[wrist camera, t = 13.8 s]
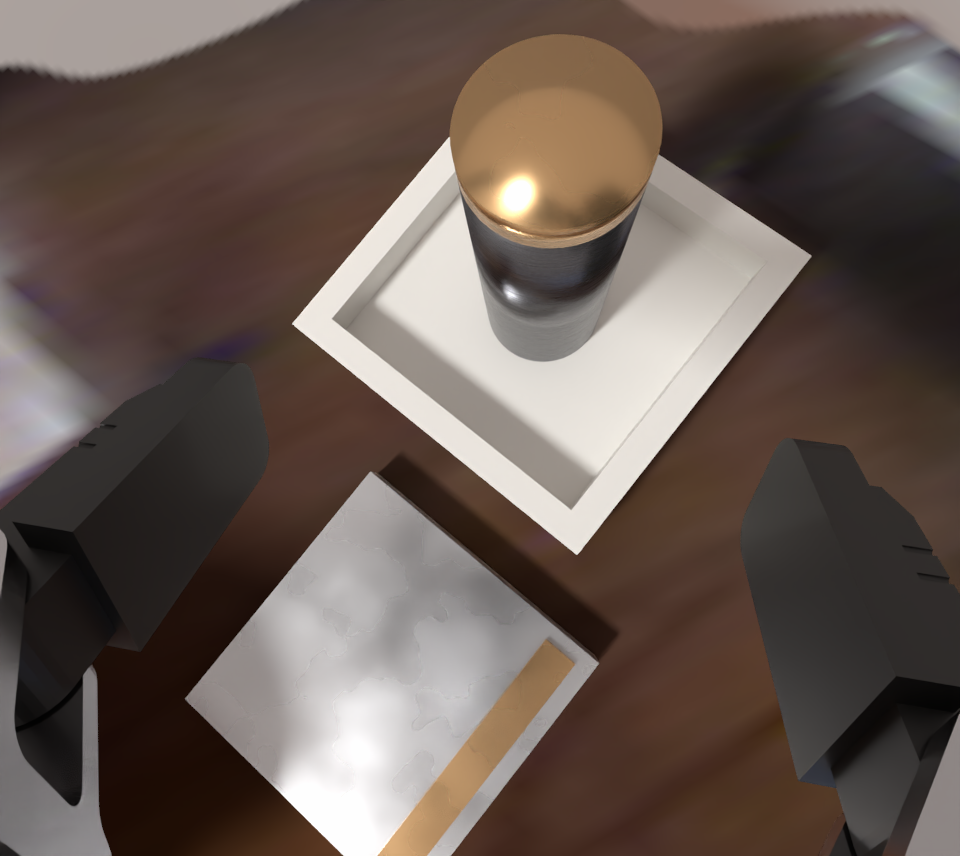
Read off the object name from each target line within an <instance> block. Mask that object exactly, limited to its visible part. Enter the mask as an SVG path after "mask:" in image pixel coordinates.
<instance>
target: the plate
mask: <svg viewBox="0 0 960 856" xmlns="http://www.w3.org/2000/svg"><path fill="white" fill-rule="evenodd" d="M598 664H599V662H598V660H597V658H596V656H595V655H594V654H593V653H592V652H591V651H589V650H588V649H587V648H586V647H585V646H584V645H582V644H581V643H580V642H579V641H578V640H576V639H575V638H574V637H573V636H572V635H570V634H569V633H568V632H567V631H566V630H564V629H563V628H562V627H561V626H560V625H558V624H557V623H556V622H555V621H554V620H553V619H551V618H550V617H549V616H548V615H547V614H545V613H544V612H543V611H542V610H541V609H539V608H538V607H537V606H536V605H535V604H533V603H532V602H531V601H530V600H529V599H527V598H526V597H525V596H524V595H523V594H522V593H520V592H519V591H518V590H517V589H516V588H514V587H513V586H512V585H511V584H510V583H508V582H507V581H506V580H505V579H504V578H502V577H501V576H500V575H499V574H498V573H496V572H495V571H494V570H493V569H492V568H491V567H489V566H488V565H487V564H486V563H485V562H483V561H482V560H481V559H480V558H479V557H477V556H476V555H475V554H474V553H473V552H471V551H470V550H469V549H468V548H467V547H465V546H464V545H463V544H462V543H461V542H460V541H458V540H457V539H456V538H455V537H454V536H452V535H451V534H450V533H449V532H448V531H446V530H445V529H444V528H443V527H442V526H440V525H439V524H438V523H437V522H436V521H435V520H433V519H432V518H431V517H430V516H429V515H427V514H426V513H425V512H424V511H423V510H421V509H420V508H419V507H418V506H417V505H415V504H414V503H413V502H412V501H411V500H409V499H408V498H407V497H406V496H405V495H404V494H402V493H401V492H400V491H399V490H398V489H396V488H395V487H394V486H393V485H392V484H390V483H389V482H388V481H387V480H386V479H384V478H383V477H382V476H381V475H380V474H378V473H375V472H370V473H369V474H368V475H367V477H366V478H365V479H364V480H363V481H362V483H361V484H360V485H359V486H358V488H357V489H356V490H355V491H354V492H353V494H352V495H351V496H350V497H349V499H348V500H347V501H346V502H345V503H344V505H343V506H342V507H341V508H340V510H339V511H338V512H337V513H336V514H335V516H334V517H333V518H332V519H331V521H330V522H329V523H328V524H327V525H326V527H325V528H324V529H323V530H322V532H321V533H320V534H319V535H318V536H317V538H316V539H315V540H314V541H313V543H312V544H311V545H310V546H309V548H308V549H307V550H306V551H305V552H304V554H303V555H302V556H301V557H300V559H299V560H298V561H297V562H296V563H295V565H294V566H293V567H292V568H291V570H290V571H289V572H288V573H287V574H286V576H285V577H284V578H283V579H282V581H281V582H280V583H279V584H278V585H277V587H276V588H275V589H274V590H273V592H272V593H271V594H270V595H269V596H268V598H267V599H266V600H265V601H264V603H263V604H262V605H261V606H260V607H259V609H258V610H257V611H256V612H255V614H254V615H253V616H252V617H251V619H250V620H249V621H248V622H247V623H246V625H245V626H244V627H243V628H242V630H241V631H240V632H239V633H238V634H237V636H236V637H235V638H234V639H233V641H232V642H231V643H230V644H229V645H228V647H227V648H226V649H225V650H224V652H223V653H222V654H221V655H220V656H219V658H218V659H217V660H216V661H215V663H214V664H213V665H212V666H211V667H210V669H209V670H208V671H207V672H206V674H205V675H204V676H203V677H202V678H201V680H200V681H199V682H198V683H197V685H196V686H195V687H194V688H193V690H192V691H191V692H190V693H189V694H188V696H187V697H186V698H185V700H186V701H187V702H188V703H189V704H190V705H191V706H192V707H193V708H194V709H195V710H196V711H197V712H198V713H199V714H200V715H202V716H203V717H204V718H205V719H206V720H207V721H208V722H209V723H210V724H211V725H212V726H213V727H214V728H215V729H216V730H217V731H218V732H219V733H220V734H221V735H222V736H223V737H224V738H225V739H226V740H227V741H228V742H229V743H230V744H231V745H232V746H233V747H234V748H235V749H236V750H237V751H238V752H239V753H240V754H241V755H242V756H243V757H244V758H245V759H246V760H247V761H248V762H249V763H250V764H251V765H252V766H253V767H254V768H255V769H256V770H257V771H258V772H259V773H260V774H261V775H262V776H263V777H264V778H265V779H266V780H268V781H269V782H270V783H271V784H272V785H273V786H274V787H275V788H276V789H277V790H278V791H279V792H280V793H281V794H282V795H283V796H284V797H285V798H286V799H287V800H288V801H289V802H290V803H291V804H292V805H293V806H294V807H295V808H296V809H297V810H298V811H299V812H300V813H301V814H302V815H303V816H304V817H305V818H306V819H307V820H308V821H309V822H310V823H311V824H312V825H313V826H314V827H315V828H316V829H317V830H318V831H319V832H320V833H321V834H322V835H323V836H324V837H325V838H326V839H327V840H328V841H329V842H330V843H331V844H333V845H334V846H335V847H336V848H337V849H338V850H339V851H340V852H341V853H342V854H343V855H344V856H451V855H452V853H453V852H454V851H455V850H456V848H457V847H458V846H459V844H460V843H461V842H462V840H463V839H464V838H465V837H466V835H467V834H468V833H469V831H470V830H471V829H472V827H473V826H474V825H475V824H476V822H477V821H478V820H479V818H480V817H481V816H482V815H483V813H484V812H485V811H486V809H487V808H488V807H489V805H490V804H491V803H492V802H493V800H494V799H495V798H496V796H497V795H498V794H499V793H500V791H501V790H502V789H503V787H504V786H505V785H506V783H507V782H508V781H509V780H510V778H511V777H512V776H513V774H514V773H515V772H516V770H517V769H518V768H519V767H520V765H521V764H522V763H523V761H524V760H525V759H526V758H527V756H528V755H529V754H530V752H531V751H532V750H533V748H534V747H535V746H536V745H537V743H538V742H539V741H540V739H541V738H542V737H543V736H544V734H545V733H546V732H547V730H548V729H549V728H550V726H551V725H552V724H553V723H554V721H555V720H556V719H557V717H558V716H559V715H560V713H561V712H562V711H563V710H564V708H565V707H566V706H567V704H568V703H569V702H570V701H571V699H572V698H573V697H574V695H575V694H576V693H577V691H578V690H579V689H580V688H581V686H582V685H583V684H584V682H585V681H586V680H587V679H588V677H589V676H590V675H591V673H592V672H593V671H594V669H595V668H596V667H597V666H598Z"/></svg>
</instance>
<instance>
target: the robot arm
mask: <svg viewBox="0 0 960 856" xmlns="http://www.w3.org/2000/svg"><path fill="white" fill-rule="evenodd" d="M100 424H101V426H100V428H94V429H93V430H92V431H91V432H90V433H89V434H87V435H86V436H85V437H84V438H83V439H82V440H81V441H79V446H78V447H72V448H71V449H70V450H69V451H68V452H67V453H66V454H64V455H63V456H62V457H61V458H60V459H59V460H58V461H56V462H55V463H54V464H53V465H52V466H51V467H50V468H48V469H47V470H46V471H45V472H44V473H43V474H41V475H40V476H39V477H38V478H37V479H36V480H35V481H33V482H32V483H31V484H30V485H29V486H28V487H27V488H25V489H24V490H23V491H22V492H21V493H20V494H18V495H17V496H16V497H15V498H14V499H13V500H12V501H10V502H9V503H8V504H7V505H6V506H5V507H4V508H2V509H1V510H0V856H112V855H111V851H110V848H109V845H108V843H107V840H106V838H105V835H104V832H103V829H102V825H101V820H100V813H99V786H98V710H97V675H96V671H95V668H94V666H93V665H92V663H93V661H94V660H95V659H96V657H97V656H98V655H99V653H100V652H101V651H102V649H103V648H104V647H105V645H107V646H112V647H117V648H123V649H128V650H133V651H138V652H141V651H142V649H143V648H144V646H145V645H146V643H147V642H148V641H149V639H150V638H151V636H152V635H153V633H154V632H155V630H156V629H157V628H158V626H159V625H160V623H161V622H162V620H163V619H164V617H165V616H166V615H167V613H168V612H169V610H170V609H171V607H172V606H173V604H174V603H175V602H176V600H177V599H178V597H179V596H180V594H181V593H182V591H183V590H184V589H185V587H186V586H187V584H188V583H189V581H190V580H191V578H192V577H193V576H194V574H195V573H196V571H197V570H198V568H199V567H200V565H201V564H202V563H203V561H204V560H205V558H206V557H207V555H208V554H209V552H210V551H211V550H212V548H213V547H214V545H215V544H216V542H217V541H218V539H219V538H220V537H221V535H222V534H223V532H224V531H225V529H226V528H227V526H228V525H229V524H230V522H231V521H232V519H233V518H234V516H235V515H236V513H237V512H238V511H239V509H240V508H241V506H242V505H243V503H244V502H245V500H246V499H247V498H248V496H249V495H250V493H251V492H252V490H253V489H254V487H255V486H256V485H257V483H258V482H259V480H260V479H261V477H262V475H263V473H264V471H265V468H266V465H267V461H268V455H269V441H268V436H267V432H266V427H265V423H264V418H263V414H262V410H261V405H260V401H259V396H258V392H257V388H256V383H255V379H254V375H253V373H252V371H251V369H250V368H249V367H248V366H247V365H246V364H243V363H236V362H229V361H221V360H214V359H206V358H199V357H198V358H193V359H191V360H190V361H188V362H187V363H186V364H185V365H184V366H183V367H182V368H181V369H179V370H178V371H177V372H176V373H175V374H174V375H173V376H172V377H171V378H169V379H168V380H167V381H166V382H165V383H164V384H163V385H162V384H159V385H157V386H155V387H153V388H151V389H149V390H147V391H145V392H143V393H141V394H139V395H137V396H135V397H133V398H131V399H129V400H127V401H125V402H124V403H123V404H122V405H121V406H120V407H118V408H117V409H116V410H115V411H114V412H113V413H112V414H110V415H109V416H108V417H107V418H106V419H105V420H104V421H102V422H101V423H100ZM932 551H933V549H932V547H931V545H930V544H929V542H928V540H927V539H926V537H925V535H924V534H923V532H922V530H921V529H920V527H919V525H918V523H917V522H916V520H915V518H914V517H913V516H912V515H911V514H910V513H909V512H908V511H907V510H906V509H904V508H903V507H902V506H901V505H900V504H899V503H898V502H897V501H896V500H895V499H894V498H892V497H891V496H890V495H889V494H888V493H887V492H886V491H885V490H884V489H883V488H882V487H876V486H869V484H868V482H867V480H866V478H865V477H864V475H863V473H862V471H861V469H860V467H859V465H858V464H857V462H856V460H855V458H854V456H853V454H852V453H851V451H850V450H849V449H848V448H847V447H845V446H842V445H835V444H827V443H820V442H813V441H805V440H798V439H790V438H786V439H784V440H782V441H781V442H780V443H779V445H778V446H777V448H776V449H775V451H774V453H773V455H772V458H771V460H770V462H769V464H768V466H767V468H766V470H765V472H764V475H763V477H762V479H761V481H760V483H759V485H758V487H757V489H756V491H755V494H754V496H753V498H752V500H751V502H750V504H749V506H748V508H747V511H746V513H745V516H744V519H743V523H742V528H741V553H742V558H743V562H744V566H745V570H746V574H747V578H748V582H749V586H750V590H751V594H752V598H753V602H754V606H755V610H756V614H757V618H758V622H759V626H760V630H761V634H762V638H763V642H764V646H765V650H766V654H767V658H768V662H769V666H770V670H771V674H772V678H773V682H774V686H775V690H776V694H777V698H778V702H779V706H780V710H781V714H782V718H783V722H784V726H785V730H786V734H787V738H788V742H789V746H790V750H791V754H792V758H793V762H794V766H795V770H796V774H797V778H798V781H802V782H807V783H812V784H817V785H823V786H828V787H833V788H837V792H838V795H839V798H840V802H841V805H842V809H843V812H844V813H842V814H841V815H840V816H839V817H838V818H837V819H836V821H835V822H834V824H833V825H832V828H831V830H830V832H829V834H828V836H827V838H826V840H825V842H824V844H823V846H822V848H821V850H820V852H819V854H818V856H960V594H959V593H958V591H957V589H956V588H955V586H954V585H951V584H949V582H948V580H949V578H950V577H949V576H948V574H947V572H946V571H945V569H944V567H943V566H942V564H941V562H940V561H939V559H938V557H937V556H933V555H932Z"/></svg>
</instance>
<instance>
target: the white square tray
mask: <svg viewBox="0 0 960 856" xmlns="http://www.w3.org/2000/svg"><path fill="white" fill-rule="evenodd" d="M810 258H811V255H810V254H808V253H807V252H805V251H804V250H802V249H801V248H799V247H798V246H796V245H795V244H793V243H792V242H790V241H789V240H787V239H786V238H784V237H783V236H781V235H780V234H778V233H777V232H775V231H774V230H772V229H770V228H769V227H767V226H766V225H764V224H763V223H761V222H760V221H758V220H757V219H755V218H754V217H752V216H751V215H749V214H748V213H746V212H745V211H743V210H742V209H740V208H739V207H737V206H736V205H734V204H733V203H731V202H730V201H728V200H727V199H725V198H724V197H722V196H721V195H719V194H718V193H716V192H715V191H713V190H712V189H710V188H709V187H707V186H706V185H704V184H703V183H701V182H699V181H698V180H696V179H695V178H693V177H692V176H690V175H689V174H687V173H686V172H684V171H683V170H681V169H680V168H678V167H677V166H675V165H674V164H672V163H671V162H669V161H668V160H666V159H665V158H663V157H662V156H660V155H659V154H658V157H657V160H656V163H655V165H654V168H653V171H652V174H651V176H650V179H649V182H648V184H647V187H646V190H645V193H644V195H643V198H642V201H641V204H640V206H639V209H638V212H637V215H636V217H635V220H634V223H633V226H632V228H631V231H630V234H629V236H628V239H627V242H626V245H625V247H624V250H623V253H622V256H621V258H620V261H619V264H618V267H617V269H616V272H615V275H614V278H613V280H612V283H611V286H610V289H609V291H608V294H607V297H606V299H605V302H604V305H603V308H602V310H601V313H600V316H599V319H598V321H597V324H596V327H595V329H594V331H593V333H592V335H591V336H590V338H589V339H588V341H587V342H586V343H585V344H584V345H583V346H582V347H581V348H580V349H578V350H577V351H576V352H574V353H572V354H571V355H569V356H567V357H565V358H562V359H559V360H554V361H548V362H538V361H531V360H527V359H524V358H521V357H519V356H517V355H515V354H513V353H512V352H510V351H509V350H507V349H506V348H505V347H504V346H503V345H502V344H501V343H500V342H499V340H498V339H497V337H496V336H495V334H494V332H493V330H492V328H491V325H490V322H489V318H488V313H487V309H486V305H485V300H484V296H483V291H482V287H481V282H480V278H479V273H478V269H477V265H476V260H475V256H474V251H473V247H472V242H471V238H470V234H469V229H468V225H467V220H466V216H465V211H464V207H463V202H462V198H461V194H460V189H459V185H458V180H457V176H456V171H455V167H454V163H453V158H452V153H451V147H450V137H449V138H448V139H447V140H446V141H445V143H444V144H443V145H442V146H441V147H440V149H439V150H438V151H437V152H436V153H435V155H434V156H433V157H432V158H431V159H430V161H429V162H428V163H427V164H426V165H425V166H424V168H423V169H422V170H421V171H420V172H419V174H418V175H417V176H416V177H415V178H414V180H413V181H412V182H411V183H410V184H409V185H408V187H407V188H406V189H405V190H404V191H403V193H402V194H401V195H400V196H399V197H398V199H397V200H396V201H395V202H394V203H393V204H392V206H391V207H390V208H389V209H388V210H387V212H386V213H385V214H384V215H383V216H382V218H381V219H380V220H379V221H378V222H377V224H376V225H375V226H374V227H373V228H372V229H371V231H370V232H369V233H368V234H367V235H366V237H365V238H364V239H363V240H362V241H361V243H360V244H359V245H358V246H357V247H356V248H355V250H354V251H353V252H352V253H351V254H350V256H349V257H348V258H347V259H346V260H345V262H344V263H343V264H342V265H341V266H340V267H339V269H338V270H337V271H336V272H335V273H334V275H333V276H332V277H331V278H330V279H329V281H328V282H327V283H326V284H325V285H324V287H323V288H322V289H321V290H320V291H319V292H318V294H317V295H316V296H315V297H314V298H313V300H312V301H311V302H310V303H309V304H308V306H307V307H306V308H305V309H304V310H303V311H302V313H301V314H300V315H299V316H298V317H297V319H296V320H295V321H294V322H293V323H292V324H293V325H294V326H295V327H296V328H298V329H299V330H300V331H301V332H303V333H304V334H305V335H306V336H307V337H309V338H310V339H311V340H312V341H314V342H315V343H316V344H317V345H319V346H320V347H321V348H322V349H324V350H325V351H326V352H327V353H328V354H330V355H331V356H332V357H333V358H335V359H336V360H337V361H338V362H340V363H341V364H342V365H343V366H344V367H346V368H347V369H348V370H349V371H351V372H352V373H353V374H354V375H356V376H357V377H358V378H359V379H361V380H362V381H363V382H364V383H365V384H367V385H368V386H369V387H370V388H372V389H373V390H374V391H375V392H377V393H378V394H379V395H380V396H381V397H383V398H384V399H385V400H386V401H388V402H389V403H390V404H391V405H393V406H394V407H395V408H396V409H398V410H399V411H400V412H401V413H402V414H404V415H405V416H406V417H407V418H409V419H410V420H411V421H412V422H414V423H415V424H416V425H417V426H418V427H420V428H421V429H422V430H423V431H425V432H426V433H427V434H428V435H430V436H431V437H432V438H433V439H435V440H436V441H437V442H438V443H439V444H441V445H442V446H443V447H444V448H446V449H447V450H448V451H449V452H451V453H452V454H453V455H454V456H455V457H457V458H458V459H459V460H460V461H462V462H463V463H464V464H465V465H467V466H468V467H469V468H470V469H471V470H473V471H474V472H475V473H476V474H478V475H479V476H480V477H481V478H483V479H484V480H485V481H486V482H488V483H489V484H490V485H491V486H492V487H494V488H495V489H496V490H497V491H499V492H500V493H501V494H502V495H504V496H505V497H506V498H507V499H508V500H510V501H511V502H512V503H513V504H515V505H516V506H517V507H518V508H520V509H521V510H522V511H523V512H525V513H526V514H527V515H528V516H529V517H531V518H532V519H533V520H534V521H536V522H537V523H538V524H539V525H541V526H542V527H543V528H544V529H545V530H547V531H548V532H549V533H550V534H552V535H553V536H554V537H555V538H557V539H558V540H559V541H560V542H562V543H563V544H564V545H565V546H566V547H568V548H569V549H570V550H571V551H573V552H574V553H575V554H576V555H578V553H579V552H580V551H581V550H582V548H583V547H584V546H585V545H586V543H587V542H588V541H589V539H590V538H591V537H592V536H593V534H594V533H595V532H596V531H597V529H598V528H599V527H600V525H601V524H602V523H603V522H604V520H605V519H606V518H607V516H608V515H609V514H610V513H611V511H612V510H613V509H614V508H615V506H616V505H617V504H618V502H619V501H620V500H621V499H622V497H623V496H624V495H625V494H626V492H627V491H628V490H629V488H630V487H631V486H632V485H633V483H634V482H635V481H636V480H637V478H638V477H639V476H640V474H641V473H642V472H643V471H644V469H645V468H646V467H647V466H648V464H649V463H650V462H651V460H652V459H653V458H654V457H655V455H656V454H657V453H658V451H659V450H660V449H661V448H662V446H663V445H664V444H665V443H666V441H667V440H668V439H669V437H670V436H671V435H672V434H673V432H674V431H675V430H676V429H677V427H678V426H679V425H680V423H681V422H682V421H683V420H684V418H685V417H686V416H687V415H688V413H689V412H690V411H691V409H692V408H693V407H694V406H695V404H696V403H697V402H698V400H699V399H700V398H701V397H702V395H703V394H704V393H705V392H706V390H707V389H708V388H709V386H710V385H711V384H712V383H713V381H714V380H715V379H716V378H717V376H718V375H719V374H720V372H721V371H722V370H723V369H724V367H725V366H726V365H727V364H728V362H729V361H730V360H731V358H732V357H733V356H734V355H735V353H736V352H737V351H738V349H739V348H740V347H741V346H742V344H743V343H744V342H745V341H746V339H747V338H748V337H749V335H750V334H751V333H752V332H753V330H754V329H755V328H756V327H757V325H758V324H759V323H760V321H761V320H762V319H763V318H764V316H765V315H766V314H767V313H768V311H769V310H770V309H771V307H772V306H773V305H774V304H775V302H776V301H777V300H778V299H779V297H780V296H781V295H782V293H783V292H784V291H785V290H786V288H787V287H788V286H789V284H790V283H791V282H792V281H793V279H794V278H795V277H796V276H797V274H798V273H799V272H800V270H801V269H802V268H803V267H804V265H805V264H806V263H807V262H808V260H809V259H810Z"/></svg>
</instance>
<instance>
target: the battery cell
mask: <svg viewBox="0 0 960 856" xmlns="http://www.w3.org/2000/svg"><path fill="white" fill-rule="evenodd" d="M662 128H663V126H662V114H661V110H660V105H659V101H658V99H657V96H656V94H655V91H654V89H653V87H652V85H651V83H650V82H649V80H648V78H647V77H646V76H645V74H644V73H643V72H642V70H641V69H640V68H639V67H638V66H637V65H636V64H635V63H634V62H633V61H632V60H631V59H630V58H628V57H627V56H626V55H624V54H623V53H622V52H620V51H619V50H617V49H615V48H613V47H611V46H610V45H608V44H605V43H603V42H600V41H598V40H595V39H591V38H587V37H583V36H576V35H567V34H554V35H544V36H539V37H534V38H529V39H526V40H524V41H521V42H518V43H515V44H513V45H511V46H509V47H507V48H505V49H503V50H501V51H500V52H498V53H497V54H495V55H494V56H492V57H491V58H490V59H489V60H487V61H486V62H485V63H484V64H482V65H481V66H480V68H479V69H478V70H477V71H476V72H475V73H474V74H473V75H472V76H471V78H470V79H469V80H468V82H467V83H466V84H465V86H464V88H463V90H462V91H461V93H460V95H459V97H458V100H457V102H456V105H455V107H454V111H453V115H452V119H451V126H450V147H451V153H452V158H453V163H454V167H455V171H456V176H457V180H458V185H459V189H460V194H461V198H462V202H463V207H464V211H465V216H466V220H467V225H468V229H469V234H470V238H471V242H472V247H473V251H474V256H475V260H476V265H477V269H478V273H479V278H480V282H481V287H482V291H483V296H484V300H485V305H486V309H487V313H488V318H489V322H490V325H491V328H492V330H493V332H494V334H495V336H496V337H497V339H498V340H499V342H500V343H501V344H502V345H503V346H504V347H505V348H506V349H507V350H509V351H510V352H512V353H513V354H515V355H517V356H519V357H521V358H524V359H527V360H531V361H538V362H548V361H554V360H559V359H562V358H565V357H567V356H569V355H571V354H572V353H574V352H576V351H577V350H578V349H580V348H581V347H582V346H583V345H584V344H585V343H586V342H587V341H588V339H589V338H590V336H591V335H592V333H593V331H594V329H595V327H596V324H597V321H598V319H599V316H600V313H601V310H602V308H603V305H604V302H605V299H606V297H607V294H608V291H609V289H610V286H611V283H612V280H613V278H614V275H615V272H616V269H617V267H618V264H619V261H620V258H621V256H622V253H623V250H624V247H625V245H626V242H627V239H628V236H629V234H630V231H631V228H632V226H633V223H634V220H635V217H636V215H637V212H638V209H639V206H640V204H641V201H642V198H643V195H644V193H645V190H646V187H647V184H648V182H649V179H650V176H651V174H652V171H653V168H654V165H655V163H656V160H657V157H658V154H659V151H660V146H661V141H662Z"/></svg>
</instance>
